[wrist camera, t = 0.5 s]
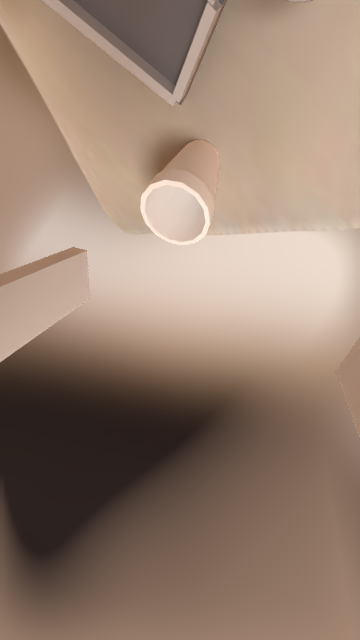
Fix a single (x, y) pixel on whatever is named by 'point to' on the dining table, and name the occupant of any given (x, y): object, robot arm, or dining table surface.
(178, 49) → the shallow rimmed tray
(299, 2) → the mug
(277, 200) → the dining table surface
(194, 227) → the foam cup
